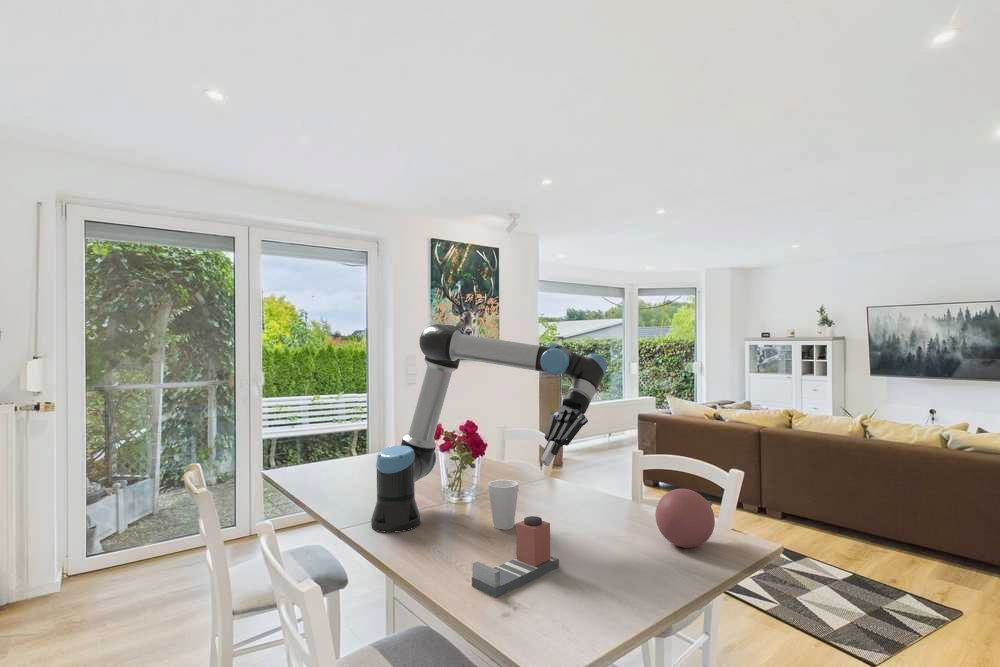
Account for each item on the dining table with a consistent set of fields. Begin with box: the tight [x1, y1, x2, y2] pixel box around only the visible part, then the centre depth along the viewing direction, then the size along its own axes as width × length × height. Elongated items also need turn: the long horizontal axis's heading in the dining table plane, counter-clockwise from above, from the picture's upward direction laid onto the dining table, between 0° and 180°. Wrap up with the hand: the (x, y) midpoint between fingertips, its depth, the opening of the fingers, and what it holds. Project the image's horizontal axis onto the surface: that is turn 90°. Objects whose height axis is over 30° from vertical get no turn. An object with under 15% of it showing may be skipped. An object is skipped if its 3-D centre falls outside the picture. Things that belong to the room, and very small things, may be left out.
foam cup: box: [487, 479, 519, 530], centre depth 161 cm, size 10×9×13 cm
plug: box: [515, 515, 551, 567], centre depth 130 cm, size 6×6×10 cm
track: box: [471, 556, 560, 598], centre depth 126 cm, size 22×8×5 cm, turn 135°
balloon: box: [655, 488, 716, 549], centre depth 145 cm, size 15×20×15 cm
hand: (544, 462), depth 145 cm, fingers closed
